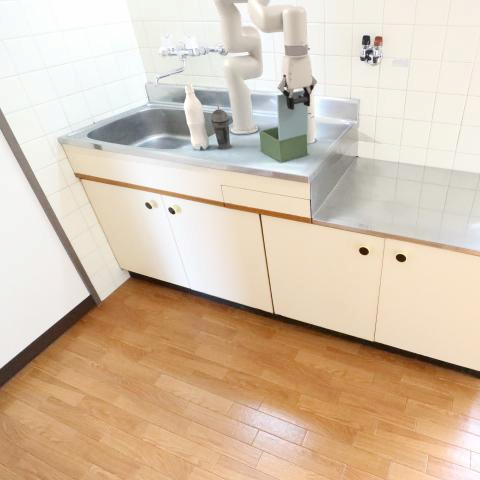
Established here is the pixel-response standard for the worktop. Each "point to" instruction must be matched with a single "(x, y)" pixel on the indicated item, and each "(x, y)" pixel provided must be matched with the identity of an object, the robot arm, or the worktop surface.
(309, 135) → the cylindrical container
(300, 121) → the grey lid with handle
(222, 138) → the beverage cup
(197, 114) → the water bottle
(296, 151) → the box
